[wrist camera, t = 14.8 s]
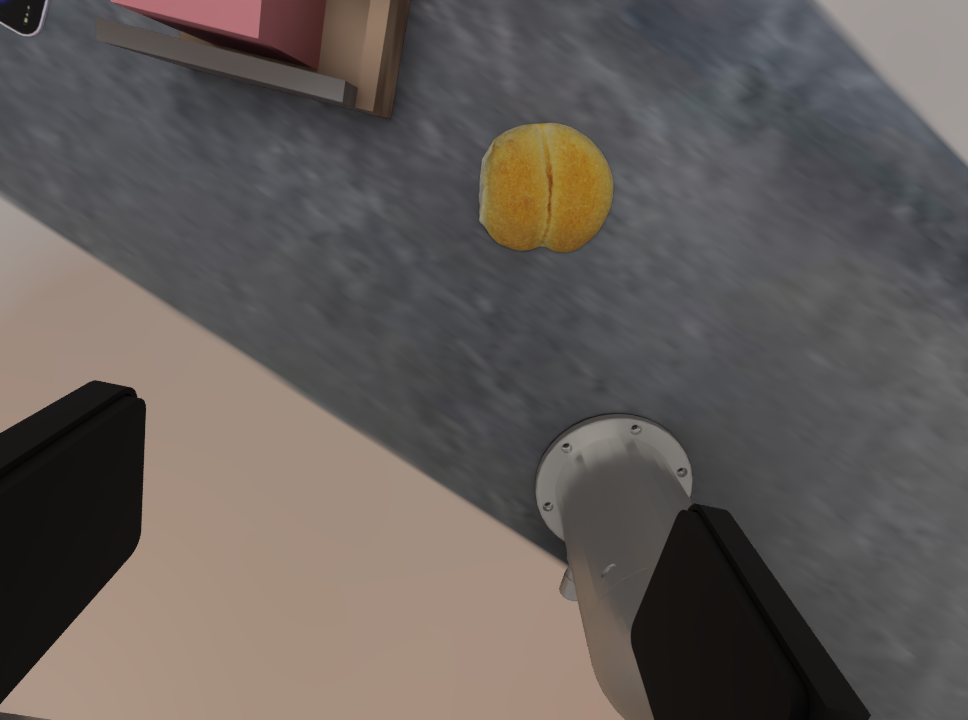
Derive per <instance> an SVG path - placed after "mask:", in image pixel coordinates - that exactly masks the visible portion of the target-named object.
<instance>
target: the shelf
mask: <svg viewBox="0 0 968 720" xmlns="http://www.w3.org/2000/svg"><path fill="white" fill-rule="evenodd" d="M409 6H410V0H326V8H325V16H324V25H323V33H322V42H321V50H320V59H319V67H318V70H314V69H310V68H306V67H302V66H298V65H294V64H290V63H286V62H282V61H278V60H274V59H270V58H266V57H262V56H258V55H254V54H250V53H246V52H242V51H238V50H234V49H230V48H226V47H222V46H218V45H214V44H211V43H208V42H206V41H203V40H201V39H199V38H196V37H194V36H192V35H189V34H187V33H184V32H182V31H181V32H180V38H177V37H173V36H169V35H165V34H161V33H157V32H153V31H149V30H145V29H141V28H137V27H134V26H130V25H126V24H122V23H118V22H114V21H110V20H106V19H102V18H98V17H96V40H98V41H101V42H104V43H108V44H111V45H114V46H117V47H121V48H124V49H127V50H131V51H134V52H137V53H140V54H144V55H147V56H150V57H154V58H157V59H160V60H163V61H167V62H170V63H173V64H177V65H180V66H183V67H186V68H190V69H193V70H197V71H201V72H205V73H209V74H213V75H217V76H221V77H225V78H229V79H233V80H237V81H241V82H245V83H249V84H253V85H257V86H261V87H265V88H269V89H273V90H277V91H281V92H285V93H289V94H293V95H297V96H300V97H304V98H308V99H312V100H316V101H320V102H324V103H328V104H332V105H336V106H340V107H344V108H348V109H352V110H356V111H360V112H364V113H368V114H372V115H376V116H380V117H384V118H388V119H391V114H392V108H393V102H394V96H395V90H396V84H397V78H398V72H399V66H400V60H401V54H402V48H403V42H404V36H405V30H406V24H407V18H408V12H409Z"/></svg>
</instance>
